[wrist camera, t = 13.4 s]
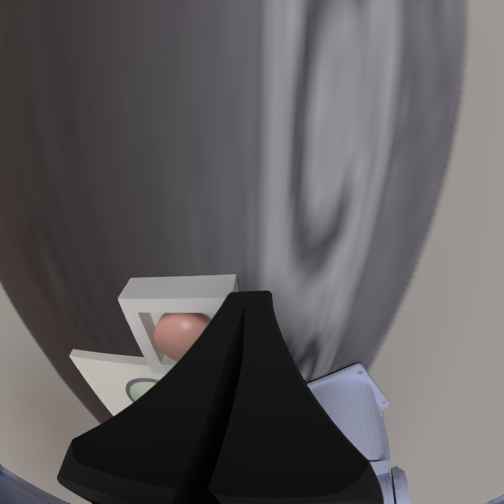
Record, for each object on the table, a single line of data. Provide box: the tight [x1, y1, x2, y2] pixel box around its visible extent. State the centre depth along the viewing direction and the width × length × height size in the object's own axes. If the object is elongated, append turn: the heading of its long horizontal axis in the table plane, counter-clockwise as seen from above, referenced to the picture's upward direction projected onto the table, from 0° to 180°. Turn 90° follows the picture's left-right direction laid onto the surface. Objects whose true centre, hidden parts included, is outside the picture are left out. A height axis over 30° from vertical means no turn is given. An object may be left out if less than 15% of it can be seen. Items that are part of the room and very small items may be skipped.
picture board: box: [70, 349, 166, 416], centre depth 31 cm, size 20×16×1 cm
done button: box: [154, 313, 210, 362], centre depth 21 cm, size 5×5×1 cm
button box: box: [118, 274, 239, 374], centre depth 22 cm, size 8×8×2 cm
